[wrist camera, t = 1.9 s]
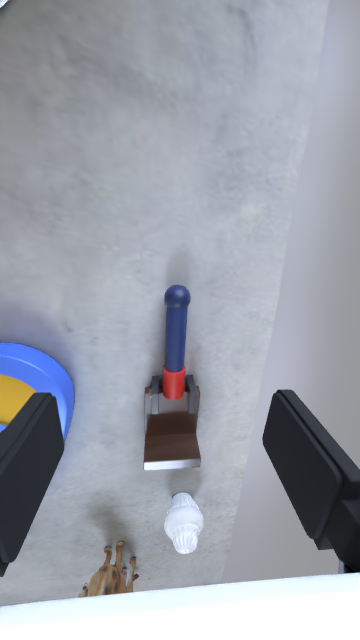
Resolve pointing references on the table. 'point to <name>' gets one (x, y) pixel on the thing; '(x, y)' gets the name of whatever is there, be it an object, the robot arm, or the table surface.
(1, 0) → the cherub figurine
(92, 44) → the table surface
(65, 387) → the location marker
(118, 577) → the lion figurine
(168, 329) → the blue lever handle
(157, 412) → the brown lever base
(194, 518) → the muffin
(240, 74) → the table surface
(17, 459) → the robot arm
